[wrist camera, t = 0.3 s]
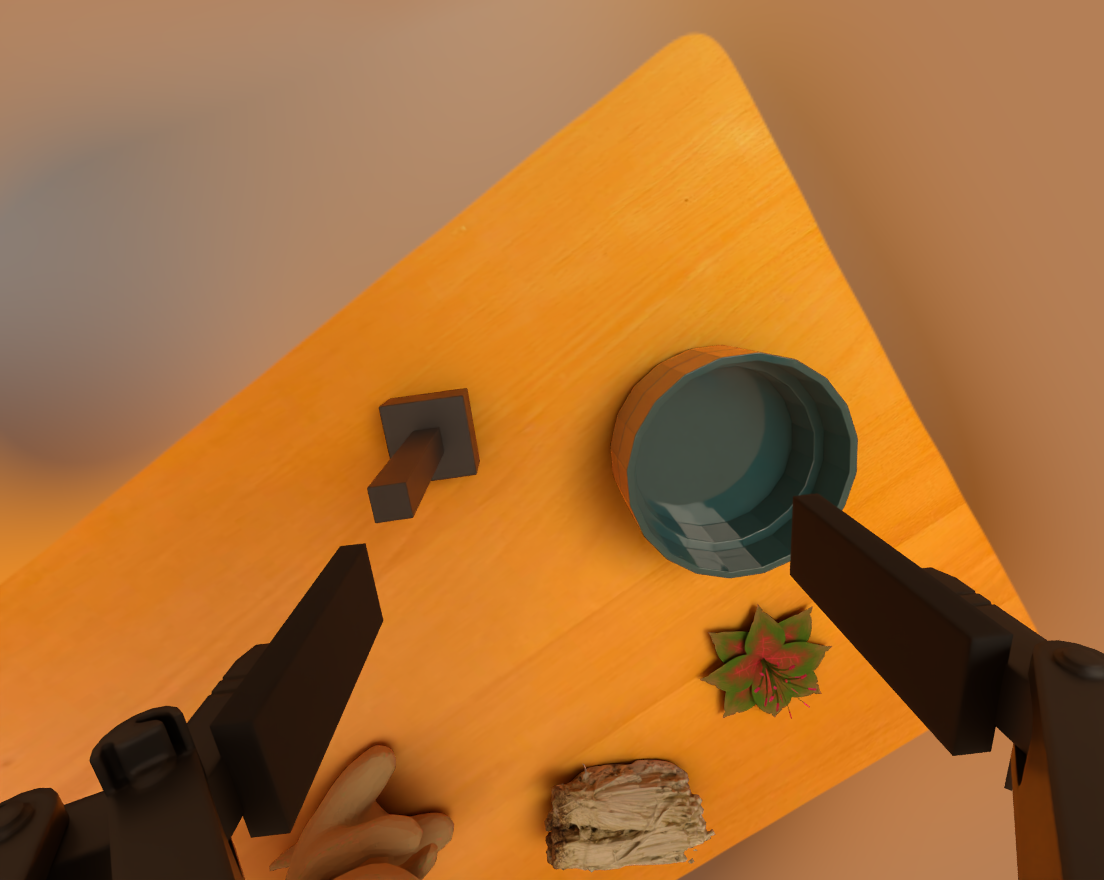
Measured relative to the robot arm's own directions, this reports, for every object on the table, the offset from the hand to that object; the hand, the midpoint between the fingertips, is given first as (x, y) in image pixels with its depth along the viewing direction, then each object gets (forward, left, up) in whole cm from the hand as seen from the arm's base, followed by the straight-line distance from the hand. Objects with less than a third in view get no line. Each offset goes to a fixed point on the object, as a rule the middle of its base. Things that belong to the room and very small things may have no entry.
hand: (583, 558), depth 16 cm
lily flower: (+24, +16, -23) cm, 37 cm away
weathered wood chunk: (+36, +2, -23) cm, 43 cm away
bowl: (+4, +12, -23) cm, 26 cm away
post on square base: (0, -8, -23) cm, 24 cm away
